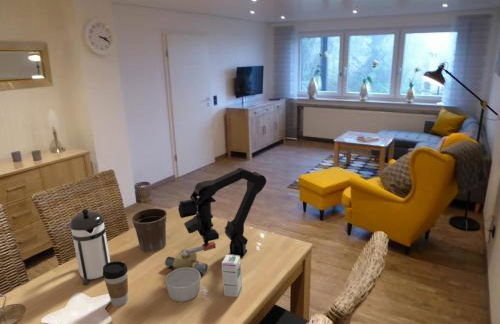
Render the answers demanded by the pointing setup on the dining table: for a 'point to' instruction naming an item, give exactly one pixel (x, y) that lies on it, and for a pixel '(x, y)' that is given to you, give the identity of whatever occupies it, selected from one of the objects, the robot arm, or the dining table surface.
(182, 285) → the ramekin
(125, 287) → the coffee cup
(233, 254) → the robot arm
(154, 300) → the dining table surface
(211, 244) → the valve lever
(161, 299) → the dining table surface
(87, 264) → the coffee press
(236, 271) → the syrup box
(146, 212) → the plant pot
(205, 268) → the valve body
